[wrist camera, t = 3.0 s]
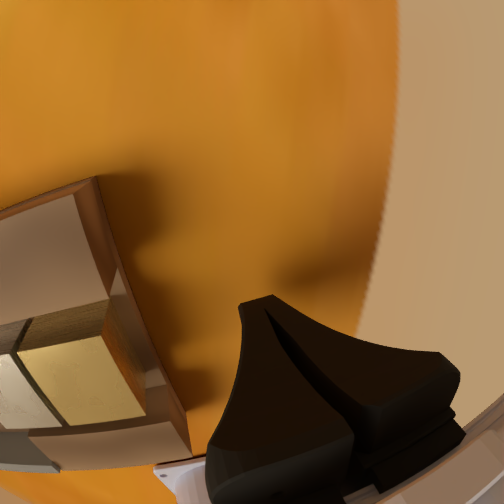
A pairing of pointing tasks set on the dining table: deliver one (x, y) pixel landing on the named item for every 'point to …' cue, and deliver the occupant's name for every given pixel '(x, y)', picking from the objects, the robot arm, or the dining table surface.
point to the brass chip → (86, 364)
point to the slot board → (76, 294)
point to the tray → (23, 454)
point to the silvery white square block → (21, 385)
